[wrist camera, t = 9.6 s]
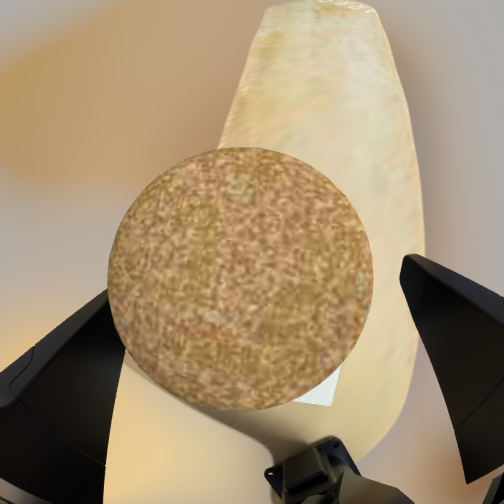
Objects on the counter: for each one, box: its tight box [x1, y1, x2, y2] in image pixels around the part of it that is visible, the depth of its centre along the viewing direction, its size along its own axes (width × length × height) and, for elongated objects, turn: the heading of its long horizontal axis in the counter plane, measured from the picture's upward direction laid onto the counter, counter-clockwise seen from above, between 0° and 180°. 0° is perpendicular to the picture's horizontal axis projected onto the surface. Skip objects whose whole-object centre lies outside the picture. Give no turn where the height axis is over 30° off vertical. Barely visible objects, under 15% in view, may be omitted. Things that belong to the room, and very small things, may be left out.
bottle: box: [108, 147, 373, 411], centre depth 12 cm, size 6×6×15 cm
